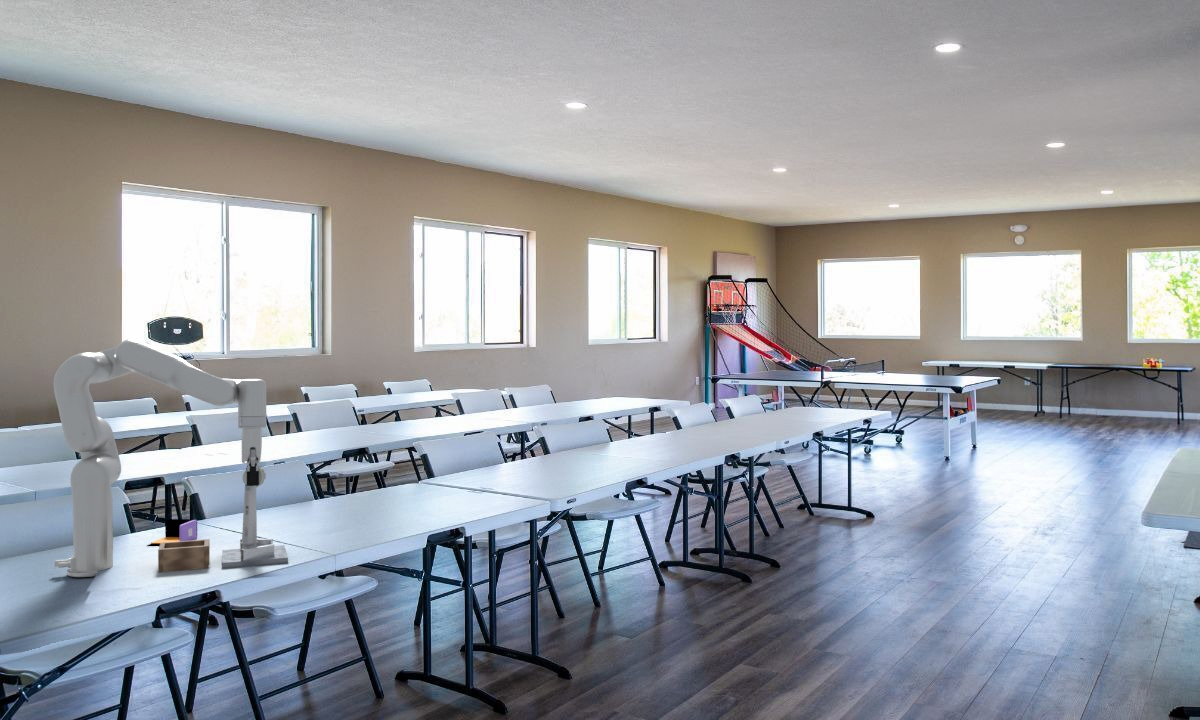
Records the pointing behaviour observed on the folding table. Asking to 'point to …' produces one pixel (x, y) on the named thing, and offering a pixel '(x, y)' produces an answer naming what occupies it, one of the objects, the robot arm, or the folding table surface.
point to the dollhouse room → (178, 531)
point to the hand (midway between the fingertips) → (252, 483)
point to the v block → (255, 555)
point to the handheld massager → (250, 512)
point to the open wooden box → (183, 555)
